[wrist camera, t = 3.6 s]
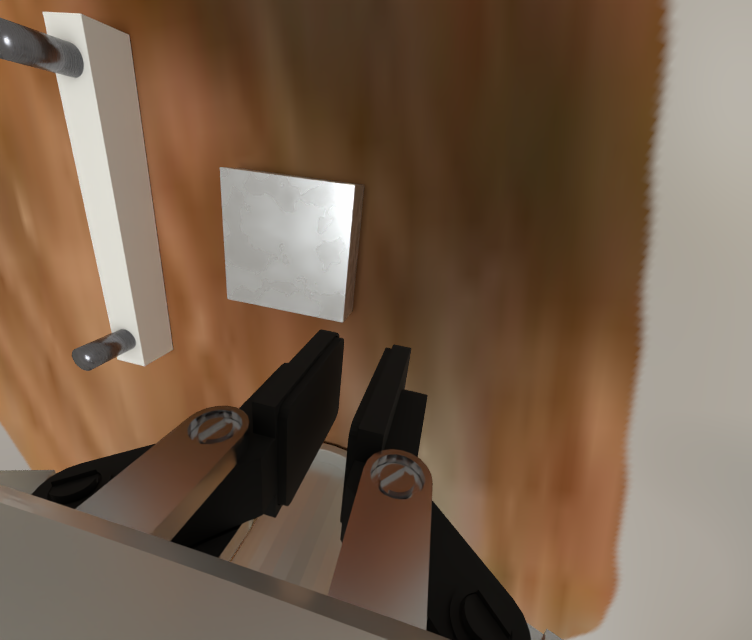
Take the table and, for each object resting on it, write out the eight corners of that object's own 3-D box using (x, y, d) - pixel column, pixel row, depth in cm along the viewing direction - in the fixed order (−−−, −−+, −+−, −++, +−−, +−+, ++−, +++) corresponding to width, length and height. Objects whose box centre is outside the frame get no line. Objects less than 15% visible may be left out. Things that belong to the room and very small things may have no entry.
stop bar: (129, 34, 25) (5, -20, 18) (173, 349, 35) (104, 389, 29) (94, 32, 25) (-39, -21, 19) (148, 343, 36) (74, 381, 29)
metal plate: (366, 184, 26) (354, 185, 23) (353, 309, 30) (342, 322, 27) (243, 168, 27) (219, 167, 24) (247, 288, 31) (227, 298, 28)
